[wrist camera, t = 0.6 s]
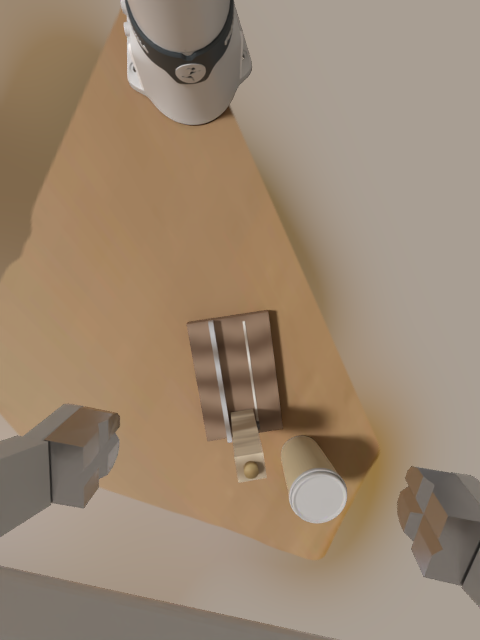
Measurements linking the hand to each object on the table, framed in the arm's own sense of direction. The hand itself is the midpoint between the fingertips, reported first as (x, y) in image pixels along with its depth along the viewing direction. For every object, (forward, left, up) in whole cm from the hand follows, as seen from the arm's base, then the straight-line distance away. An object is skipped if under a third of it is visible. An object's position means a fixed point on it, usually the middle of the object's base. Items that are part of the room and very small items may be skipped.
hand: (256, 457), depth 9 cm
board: (+15, 0, -46) cm, 48 cm away
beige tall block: (+23, 0, -44) cm, 49 cm away
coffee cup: (+33, +10, -46) cm, 57 cm away
